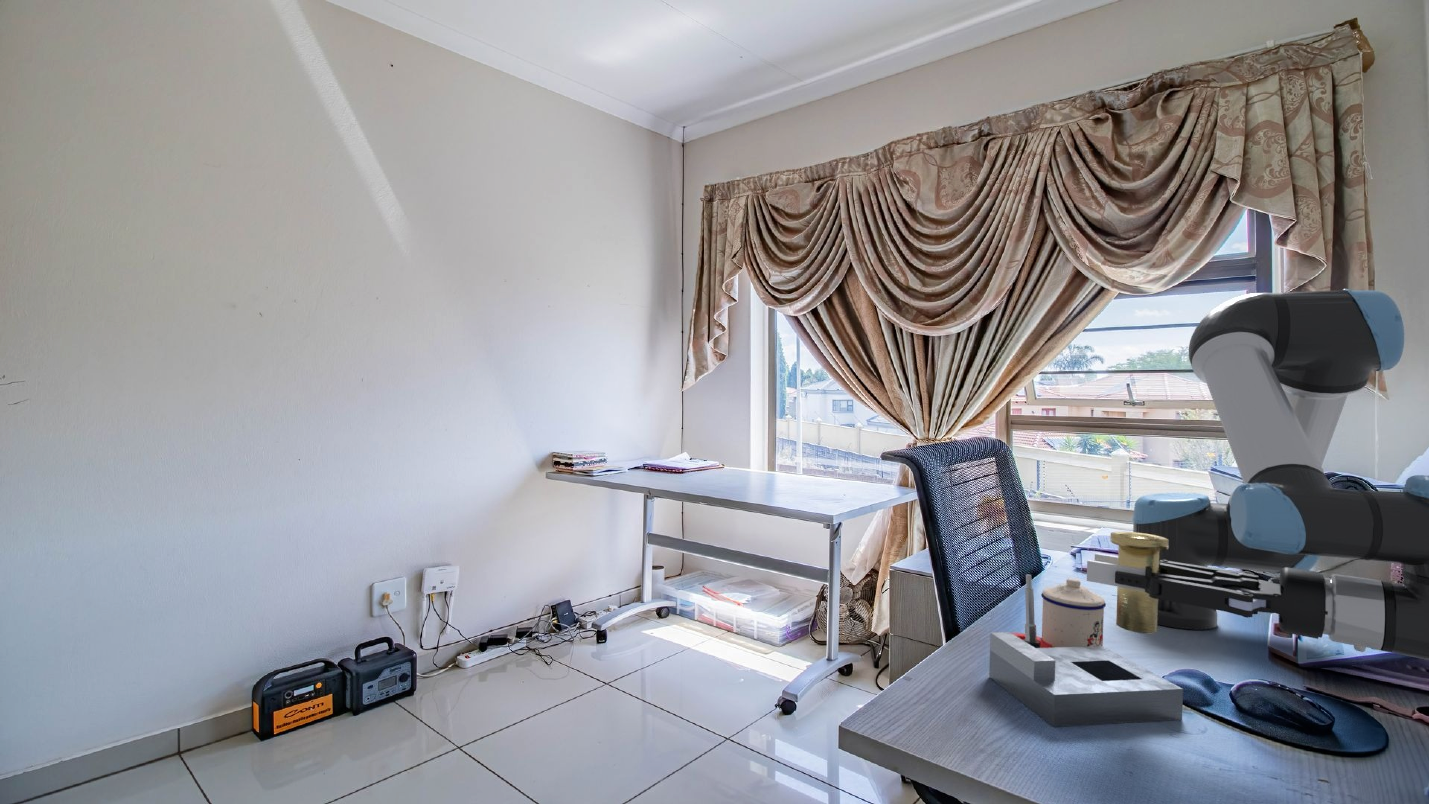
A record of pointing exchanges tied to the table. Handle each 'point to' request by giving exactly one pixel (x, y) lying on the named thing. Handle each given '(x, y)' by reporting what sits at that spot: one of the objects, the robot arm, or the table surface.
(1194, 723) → the table surface
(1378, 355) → the robot arm
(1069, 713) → the jig
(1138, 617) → the brass flanged peg
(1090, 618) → the teacup with lid
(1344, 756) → the table surface
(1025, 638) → the tow hook
